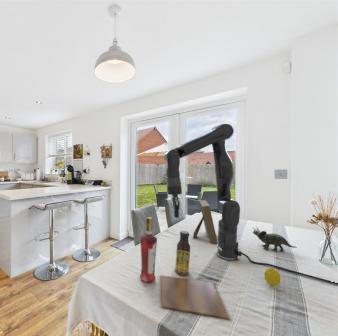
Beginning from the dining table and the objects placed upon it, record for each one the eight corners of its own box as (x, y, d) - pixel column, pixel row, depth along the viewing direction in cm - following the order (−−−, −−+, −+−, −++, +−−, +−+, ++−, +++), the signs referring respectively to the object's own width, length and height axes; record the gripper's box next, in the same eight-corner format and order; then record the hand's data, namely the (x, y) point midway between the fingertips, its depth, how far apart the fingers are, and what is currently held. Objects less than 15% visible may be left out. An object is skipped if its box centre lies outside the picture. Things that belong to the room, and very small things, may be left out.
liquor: (144, 273, 93) (146, 214, 92) (158, 279, 88) (160, 217, 87) (136, 280, 87) (137, 218, 86) (150, 286, 83) (152, 221, 82)
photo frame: (212, 233, 149) (213, 200, 148) (217, 244, 128) (219, 206, 128) (191, 230, 154) (192, 199, 153) (193, 240, 133) (194, 204, 132)
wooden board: (212, 284, 85) (212, 282, 85) (229, 319, 66) (229, 317, 66) (161, 276, 90) (161, 275, 90) (162, 307, 71) (162, 306, 71)
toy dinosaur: (296, 253, 118) (297, 234, 117) (296, 257, 111) (297, 238, 111) (252, 242, 133) (253, 226, 132) (250, 246, 126) (251, 228, 126)
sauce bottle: (174, 274, 92) (176, 233, 92) (175, 267, 98) (176, 228, 97) (189, 277, 90) (191, 235, 89) (189, 270, 96) (190, 230, 95)
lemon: (275, 291, 81) (276, 272, 81) (261, 283, 86) (261, 266, 86) (283, 288, 83) (283, 269, 83) (268, 281, 89) (269, 263, 88)
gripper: (183, 185, 101) (186, 219, 99) (179, 185, 114) (181, 215, 112) (168, 186, 102) (171, 219, 101) (165, 185, 115) (168, 215, 114)
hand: (176, 217), depth 107 cm, fingers closed
